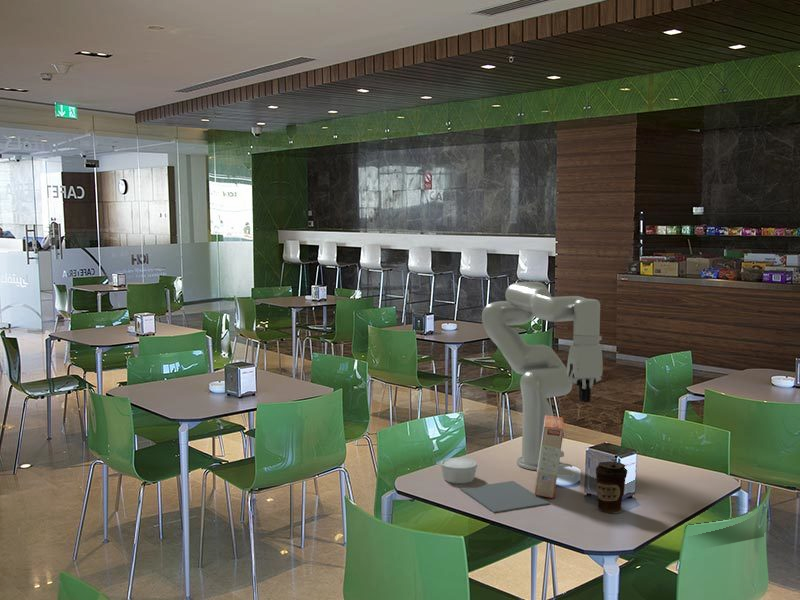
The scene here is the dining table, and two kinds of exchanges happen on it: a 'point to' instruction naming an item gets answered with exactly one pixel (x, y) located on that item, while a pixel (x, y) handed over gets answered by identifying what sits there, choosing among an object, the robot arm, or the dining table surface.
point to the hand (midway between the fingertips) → (584, 401)
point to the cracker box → (549, 456)
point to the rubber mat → (504, 496)
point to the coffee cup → (610, 486)
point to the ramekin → (458, 470)
